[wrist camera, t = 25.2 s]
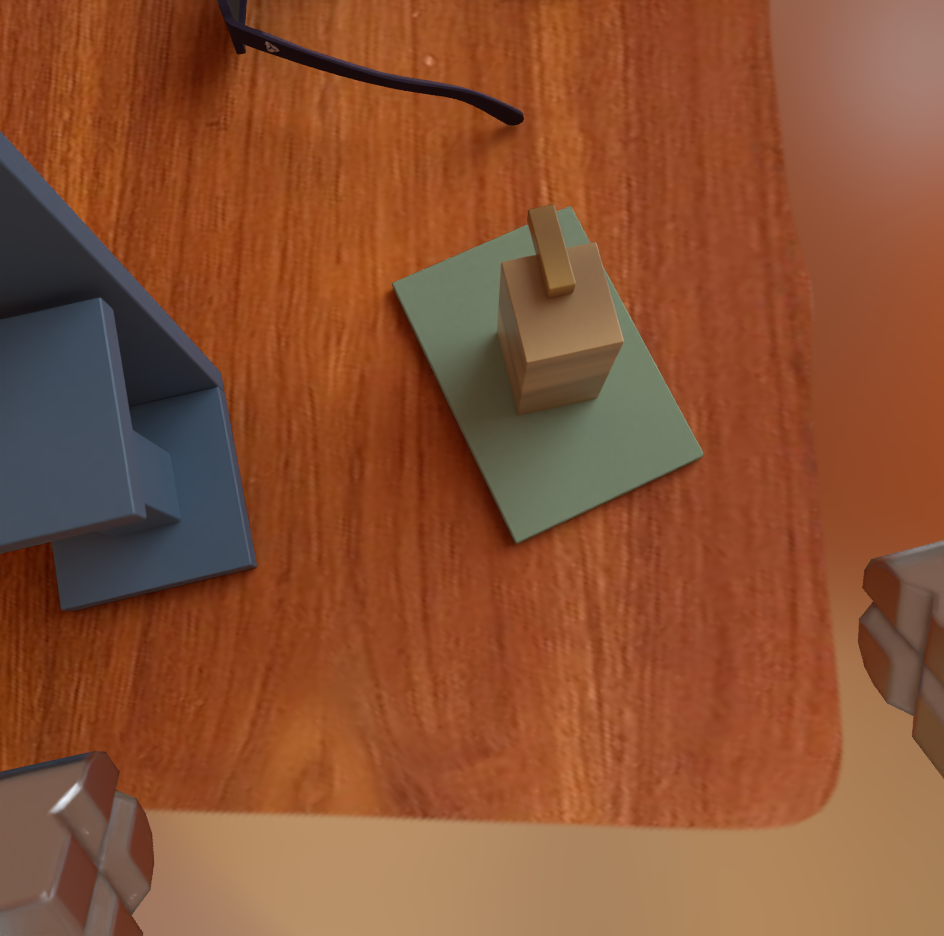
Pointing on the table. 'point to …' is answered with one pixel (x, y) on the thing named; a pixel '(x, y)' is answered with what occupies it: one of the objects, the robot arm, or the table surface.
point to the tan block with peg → (556, 320)
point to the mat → (548, 431)
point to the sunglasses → (353, 66)
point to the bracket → (105, 415)
